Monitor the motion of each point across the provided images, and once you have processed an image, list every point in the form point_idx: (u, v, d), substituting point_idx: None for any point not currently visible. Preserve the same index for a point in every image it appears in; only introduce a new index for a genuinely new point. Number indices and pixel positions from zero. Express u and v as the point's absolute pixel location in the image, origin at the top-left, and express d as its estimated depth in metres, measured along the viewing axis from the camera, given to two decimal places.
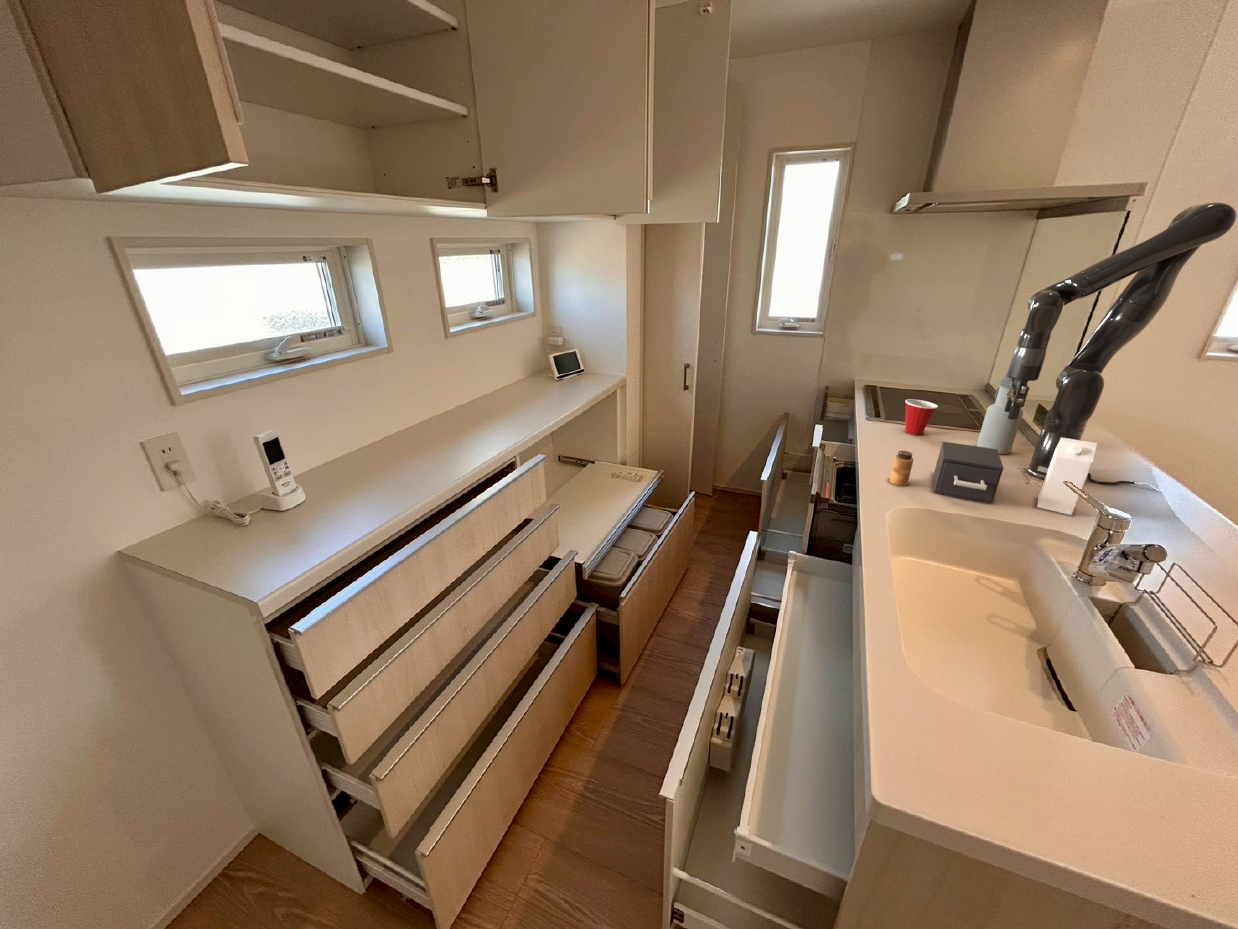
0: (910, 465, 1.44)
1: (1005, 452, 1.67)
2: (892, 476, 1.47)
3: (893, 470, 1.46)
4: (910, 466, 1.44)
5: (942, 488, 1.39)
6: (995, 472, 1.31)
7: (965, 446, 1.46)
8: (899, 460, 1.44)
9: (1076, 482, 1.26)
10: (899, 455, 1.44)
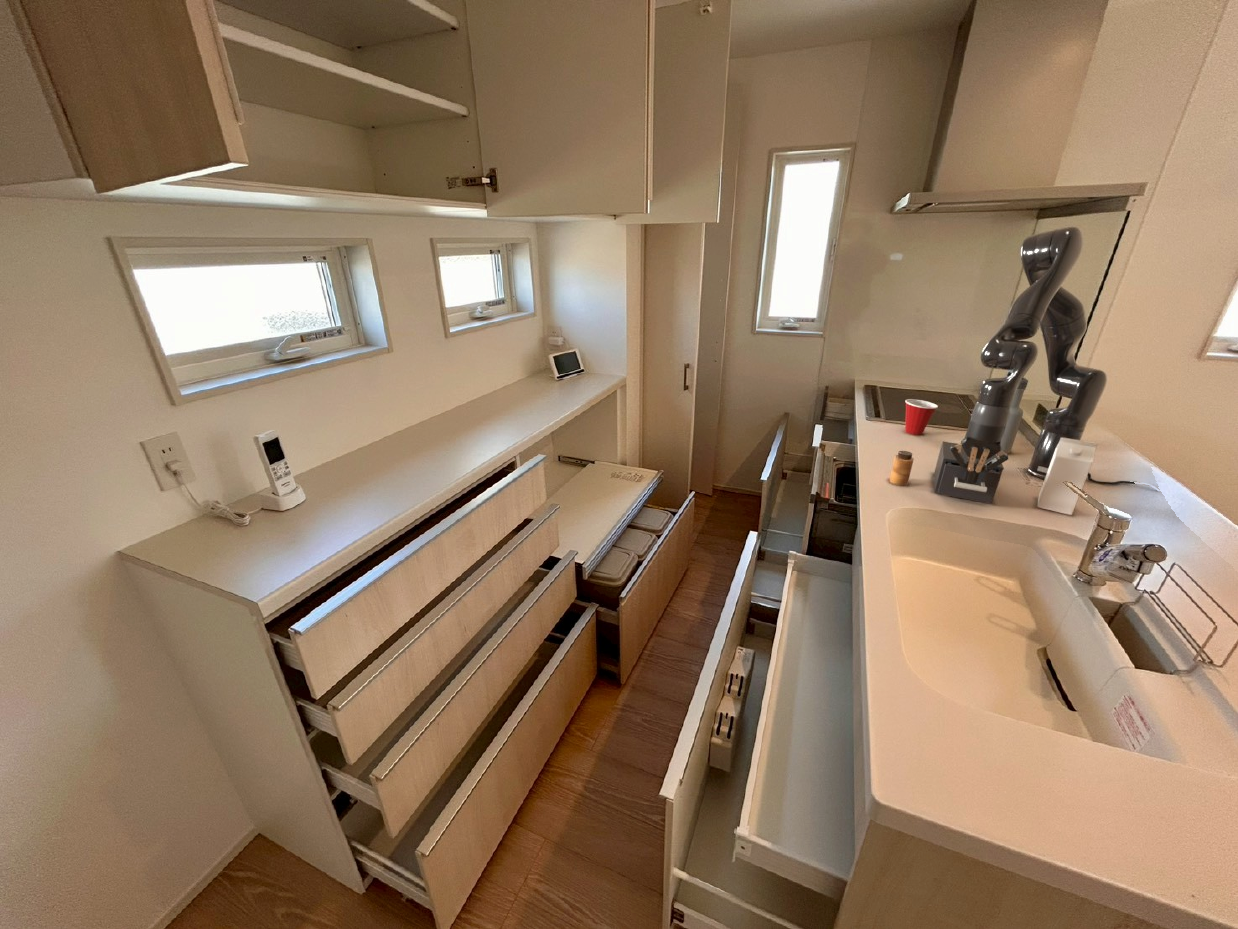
0: (910, 465, 1.44)
1: (1005, 452, 1.67)
2: (892, 476, 1.47)
3: (893, 470, 1.46)
4: (910, 466, 1.44)
5: (942, 490, 1.38)
6: (996, 474, 1.30)
7: None
8: (899, 460, 1.44)
9: (1076, 482, 1.26)
10: (899, 455, 1.44)
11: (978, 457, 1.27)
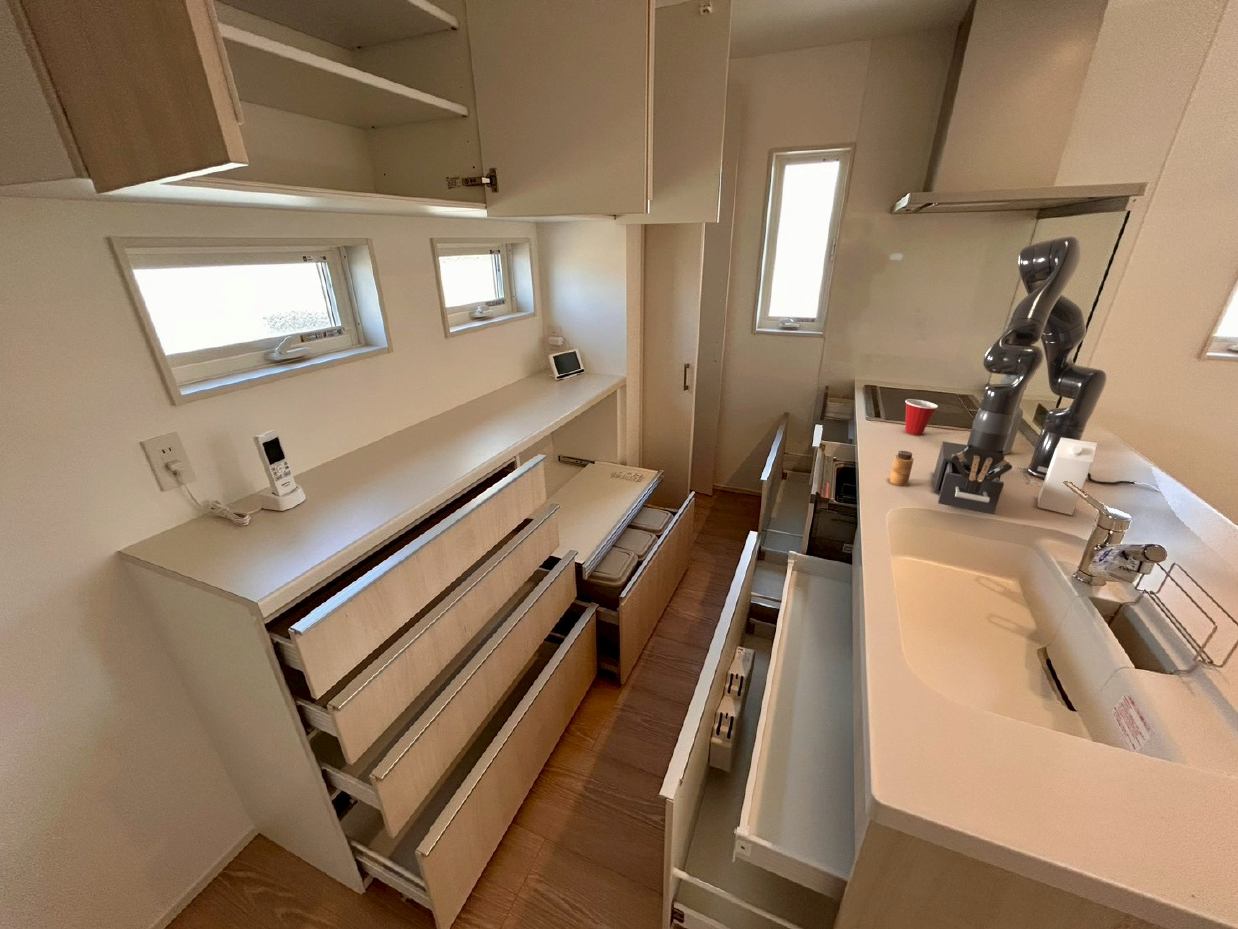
0: (910, 465, 1.44)
1: (1005, 452, 1.67)
2: (892, 476, 1.47)
3: (893, 470, 1.46)
4: (910, 466, 1.44)
5: (943, 499, 1.32)
6: (998, 483, 1.25)
7: (965, 446, 1.46)
8: (899, 460, 1.44)
9: (1076, 482, 1.26)
10: (899, 455, 1.44)
11: (980, 466, 1.22)
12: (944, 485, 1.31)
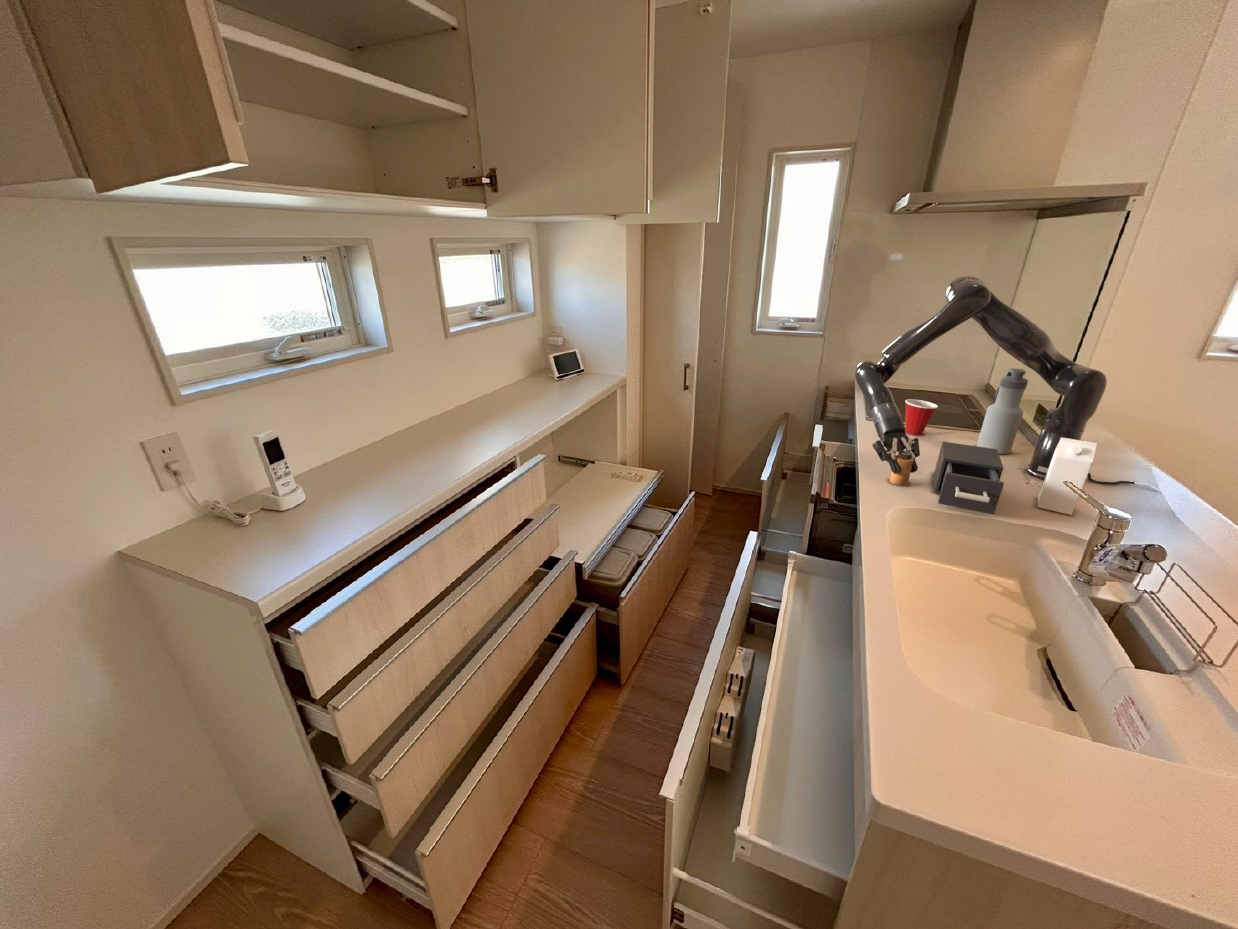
0: (910, 465, 1.44)
1: (1005, 452, 1.67)
2: (892, 476, 1.47)
3: None
4: (910, 466, 1.44)
5: (943, 499, 1.32)
6: (998, 483, 1.25)
7: (965, 446, 1.46)
8: (899, 460, 1.44)
9: (1076, 482, 1.26)
10: (899, 455, 1.44)
11: None
12: (944, 485, 1.31)
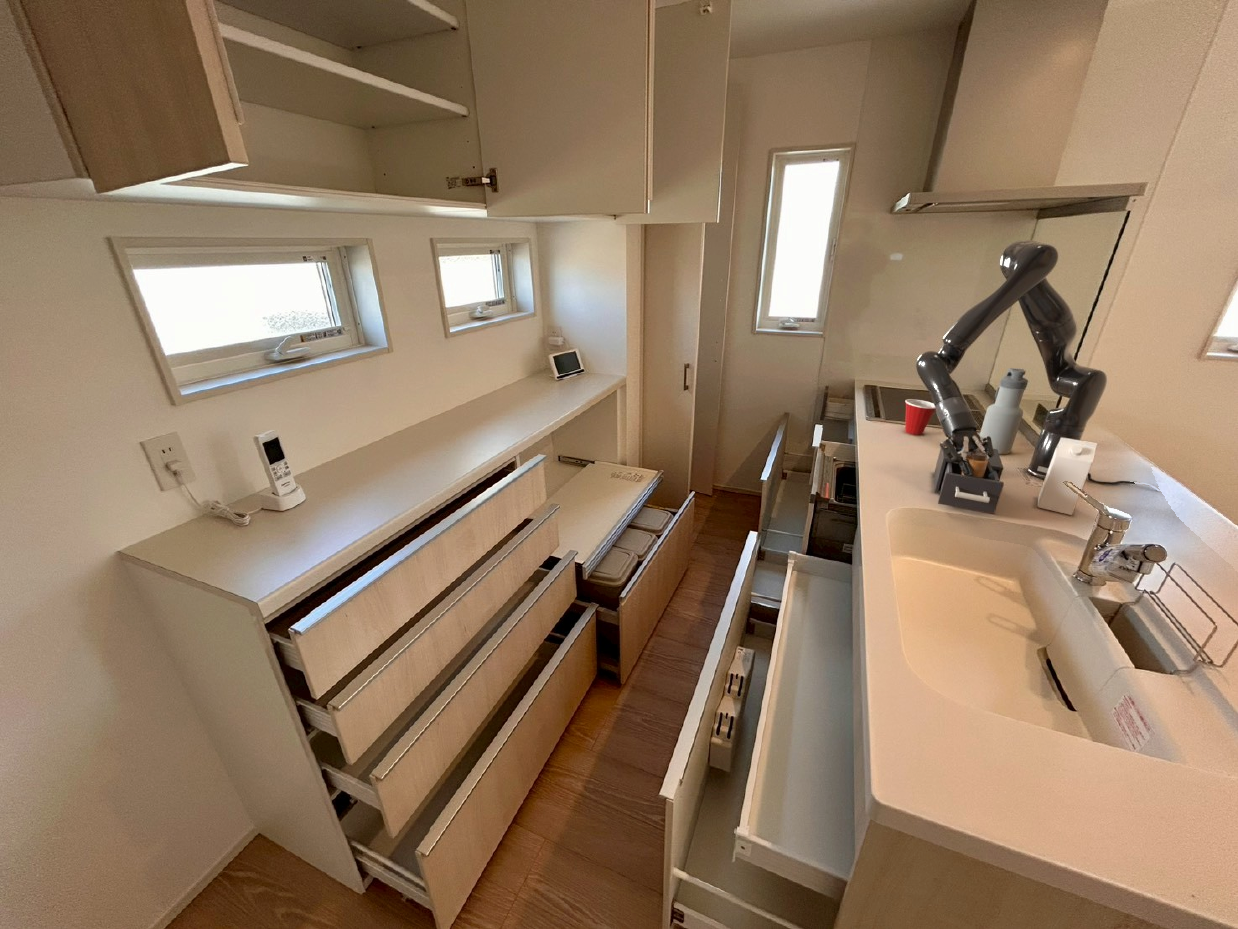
0: (984, 467, 1.28)
1: (1005, 452, 1.67)
2: None
3: None
4: (984, 468, 1.28)
5: (943, 499, 1.32)
6: (998, 483, 1.25)
7: None
8: (972, 461, 1.28)
9: (1076, 482, 1.26)
10: (972, 456, 1.29)
11: None
12: (944, 485, 1.31)
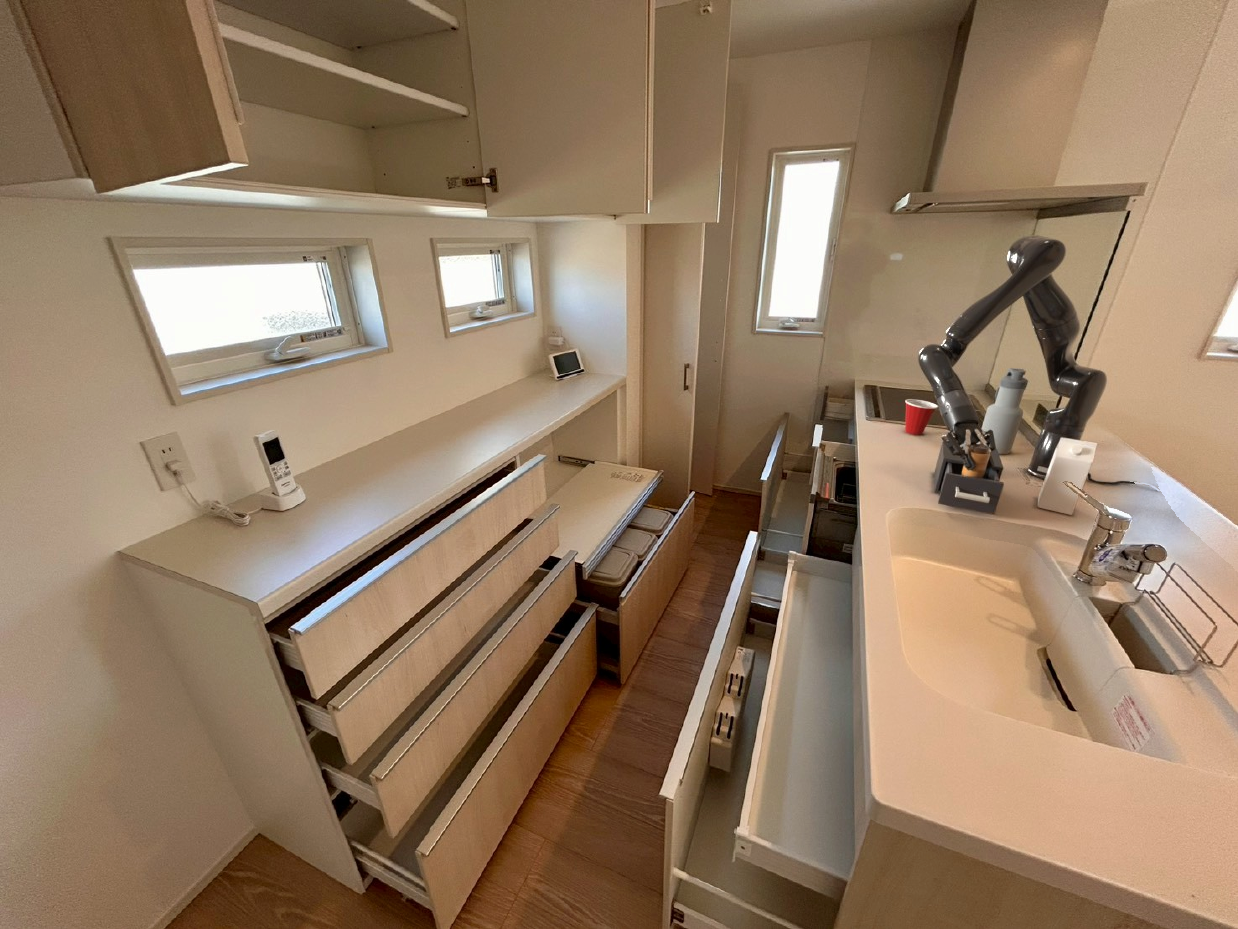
0: (987, 460, 1.27)
1: (1005, 452, 1.67)
2: (964, 473, 1.31)
3: None
4: (986, 461, 1.27)
5: (943, 500, 1.32)
6: (998, 484, 1.25)
7: None
8: (974, 454, 1.28)
9: (1076, 482, 1.26)
10: (974, 449, 1.28)
11: None
12: (944, 485, 1.31)
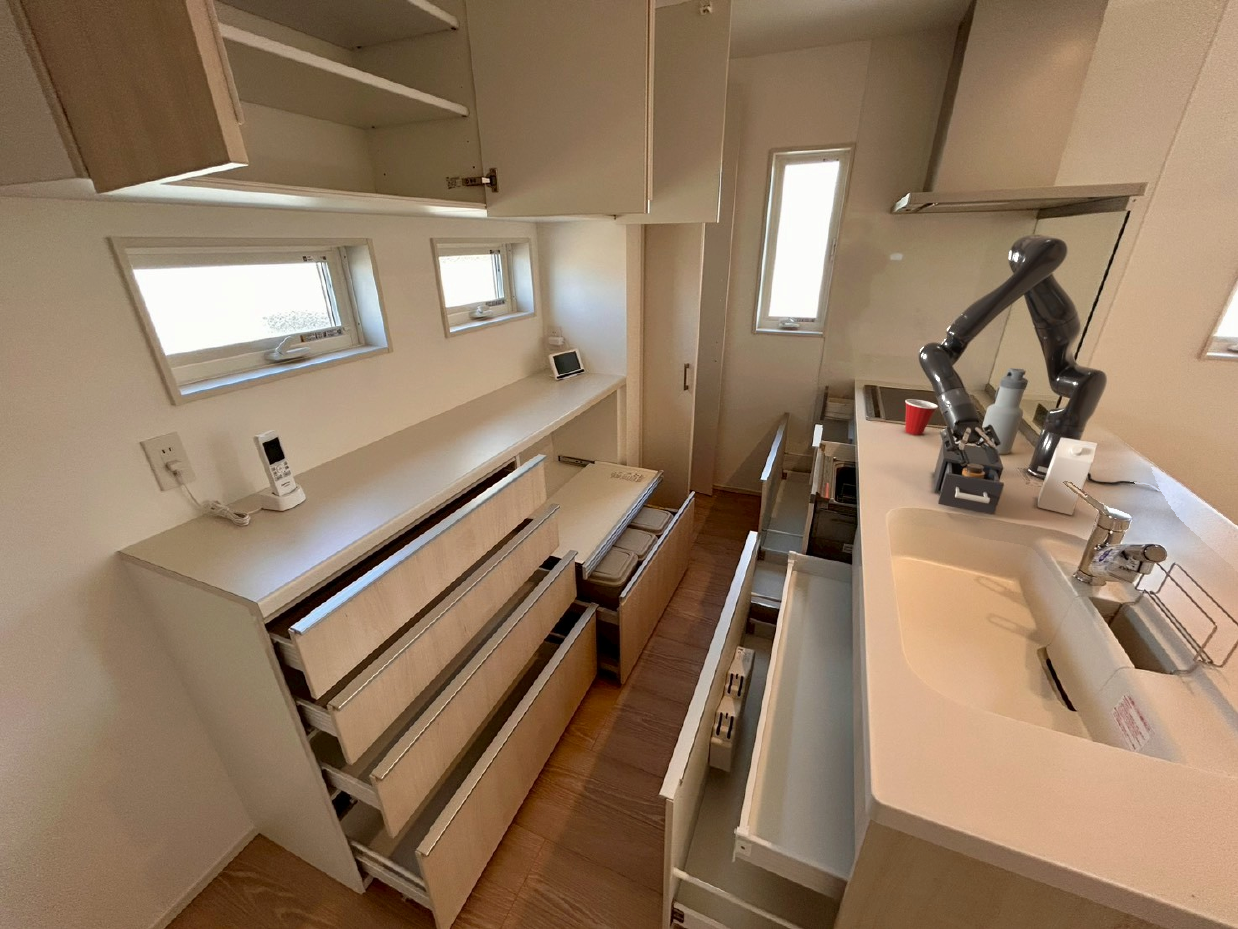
0: None
1: (1005, 452, 1.67)
2: None
3: None
4: None
5: (943, 500, 1.32)
6: (999, 484, 1.25)
7: (965, 446, 1.46)
8: (969, 474, 1.30)
9: (1076, 482, 1.26)
10: (968, 468, 1.30)
11: None
12: (944, 486, 1.31)
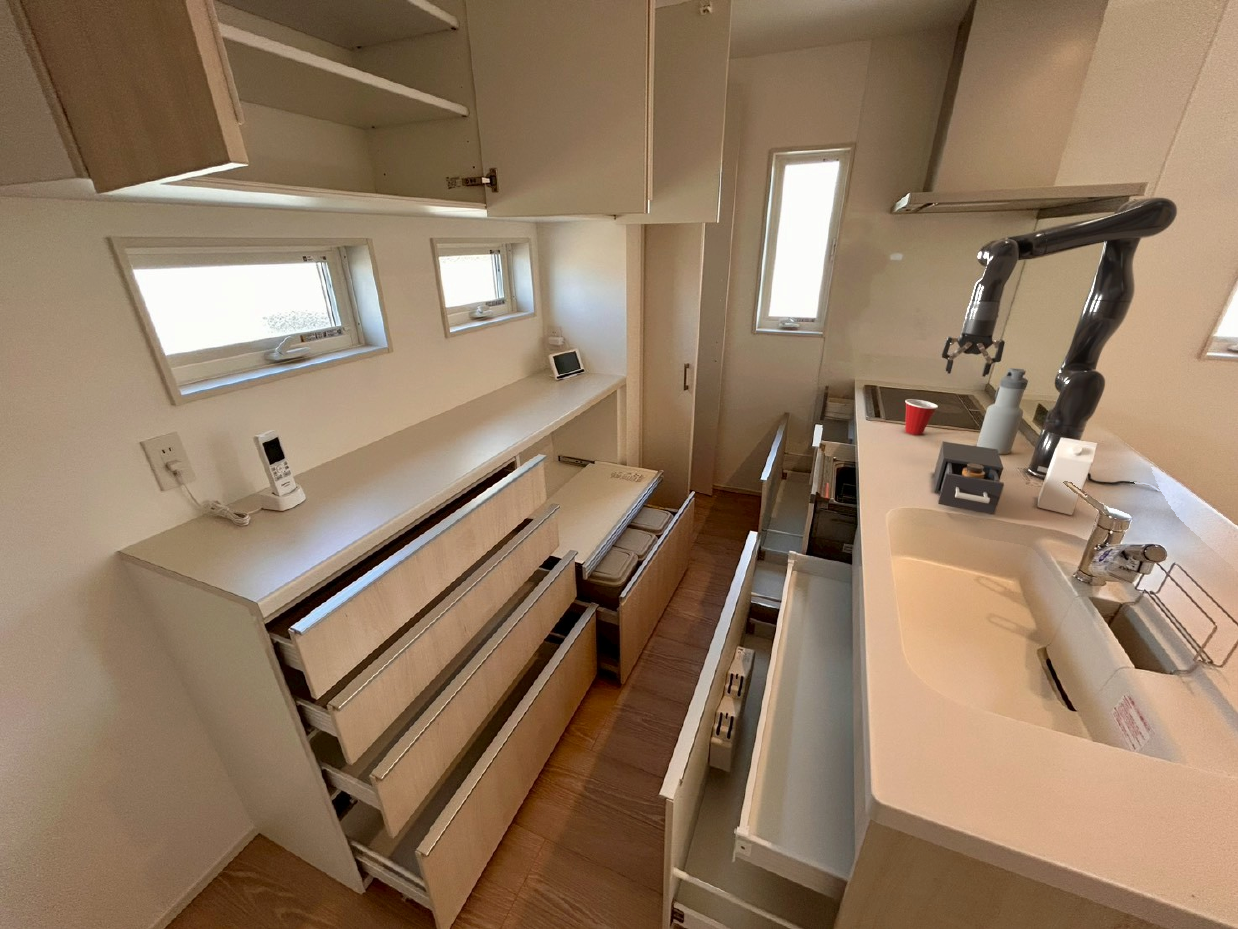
0: None
1: (1005, 452, 1.67)
2: None
3: None
4: None
5: (943, 500, 1.32)
6: (999, 484, 1.25)
7: (965, 446, 1.46)
8: (969, 474, 1.30)
9: (1076, 482, 1.26)
10: (968, 468, 1.30)
11: None
12: (944, 486, 1.31)
